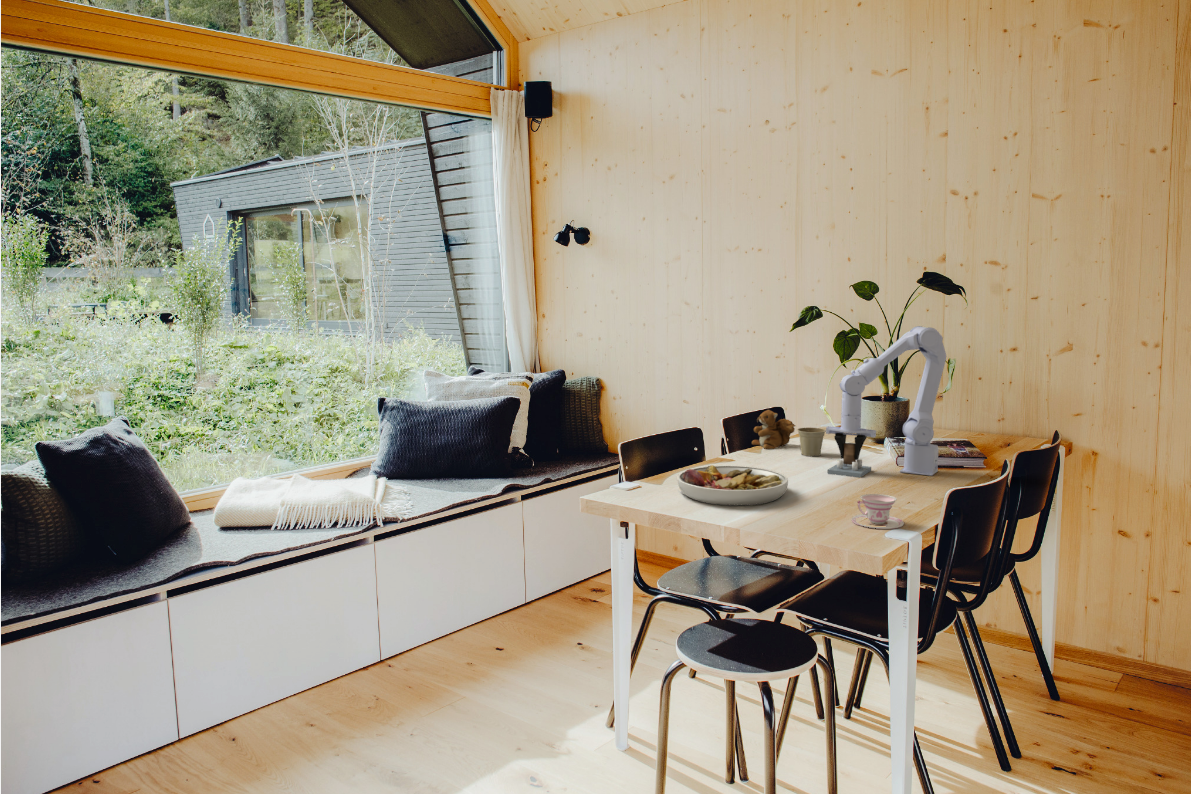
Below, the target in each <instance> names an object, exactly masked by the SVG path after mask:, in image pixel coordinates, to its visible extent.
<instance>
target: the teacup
mask: <svg viewBox="0 0 1191 794" xmlns="http://www.w3.org/2000/svg"><path fill="white" fill-rule="evenodd" d="M859 498H860V499H861V500H858V501H857V508H858V510H859V511H860V512H861V514H856V515H854V516H852V518H851V519H850V520H851V523H852V524H855V525H857V526H860V527H863V526H864V527H863V528H868V527H869V529H875V528H876V529H877V530H893V529H894V530H895V529H898V528H901V527H903V526H905V522H904V520H902V519H901V518H898V517H895V516H894V515H893V516H891V515H890V511H891V509H892V508H893V505H894V504H895V503H896V501H897V500H898V498H897V497H896V496H893V495H888V494H882V493H881V494H880V493H868V494H867V493H866V494H862V495H861V496H860V497H859ZM861 504H863V505H864V506H865V512H864V511H863V509H862V508H861ZM859 517H866V518H868V519H869V520H868V521H870V523H871V522H872V523H871V524H874V523H875V524H874V525H885V526H886V527H871V526H866V525H862V524H859V523H857V522H856V518H859ZM886 523H887V524H886Z"/></svg>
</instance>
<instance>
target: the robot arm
mask: <svg viewBox="0 0 1191 794" xmlns="http://www.w3.org/2000/svg"><path fill="white" fill-rule="evenodd" d="M943 341H944V337H943V336H942V334H940V331H938V329H936V328H934V327H925V326H923V325H921V326H920V325H917V326H914V327H912V328H911V329H910V330H909V331H907V332H905V333H904V334H902V336H901V337H900V338H898V339H897V340H896V341H895V342H893V343H892V344H891V346H889V347H888V348H887V349H886V350H884V351H883V352H882V353H881V354H880V355H879V356H878V357H876V358H875V357H870V358H868V359H867V358H865V359H864V360H863V364H861V365H860V366H858V367H857V368H855V369H852V370H851V371H850V373H851V374H847V375H844V376H843V377H842V379H841V381H840V382H839V388H840V390H841V391H842V392H841V397H842V398H841V410H840V411H841V414H840V415H841V418H840V426H826V428H825V430H826V432H825V434H827V435H830V434H832V435H834V436H833V437H834V438H833V439H834V440H835V443H836V444H837V448H838V449H839V453H840V454H839V455H840V458H841V459H842V458H844V443H847V442H846V441H847V436H855V437H854V443H855V460H856V461H857V460H858V459H860V458H859V457H860V454H861V450H862V447H863V445H864V443H865V441H866V440H867V438H869V437H870V438H876V436H877V430H876V429H867V428H862V426H861V425H862V393H864V392H865V388H866V386H868V385H869V384H871V383H872V382H873V381H874V380H875V379H877V378H878V377H879V376H881V375H882V374H883V373H884V371H885V366H887V365H888V364H890V363H891V362H893V361H894V360H895V359H897V358H898V357H900V356H901V355H902V354H904V353H905V352H907V351H912V350H918V351H920V353H921V354H922V356H923V357H925V364H924V368H923V372H922V375H921V376H922V377H921V380H920V383H919V388H918V391H917V394H916V399H915V401H914V402H915V403H914V407H913V409H912V411H910V413H909V414H908V418H907V420H906V421H905V422H904V423H903V425H902V433H903V435H904V437H905V440H904V458H903V468H902V469H900V470H899V472H900V473H906V474H914V475H924V476H930V477H933V475H935V474H936V473H937V472H938V471H939V469H938V468H939V467H938V466H939V446H938V444H932V443H931V441H932V440H933V438H934V436H935V433H934V432H935V431H934V418H933V410H934V406H935V402H936V399H937V395H938V393H939V388H940V383H941V380H942V376H943V372H944V369H945V364H946V361H947V352H946V350H945V346H944V342H943Z"/></svg>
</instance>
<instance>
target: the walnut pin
mask: <svg viewBox="0 0 1191 794" xmlns="http://www.w3.org/2000/svg"><path fill="white" fill-rule="evenodd" d="M852 462H857V460H855V442H846V443H844V459H843V463H844V464H849V465H852Z"/></svg>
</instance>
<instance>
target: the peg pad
mask: <svg viewBox="0 0 1191 794" xmlns="http://www.w3.org/2000/svg"><path fill="white" fill-rule="evenodd" d="M843 459H844V458H841V459H839V460H837V461H836V462H837V463H836V464H835V465H834V466H832V467H830V468H828V469H827V473H828V475H835V474H836V475H837V476H843V475H846V476H845V477H852V476H853V477H854V478H860V477H861V478H862V477H864V476H865V475H867V474H869V473H870V472H872V466H869V465H867V466H866V465H863V459H862V458H859V459H858V460H856V462H852V465H849V464H844V463H843ZM853 477H852V478H853Z"/></svg>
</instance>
